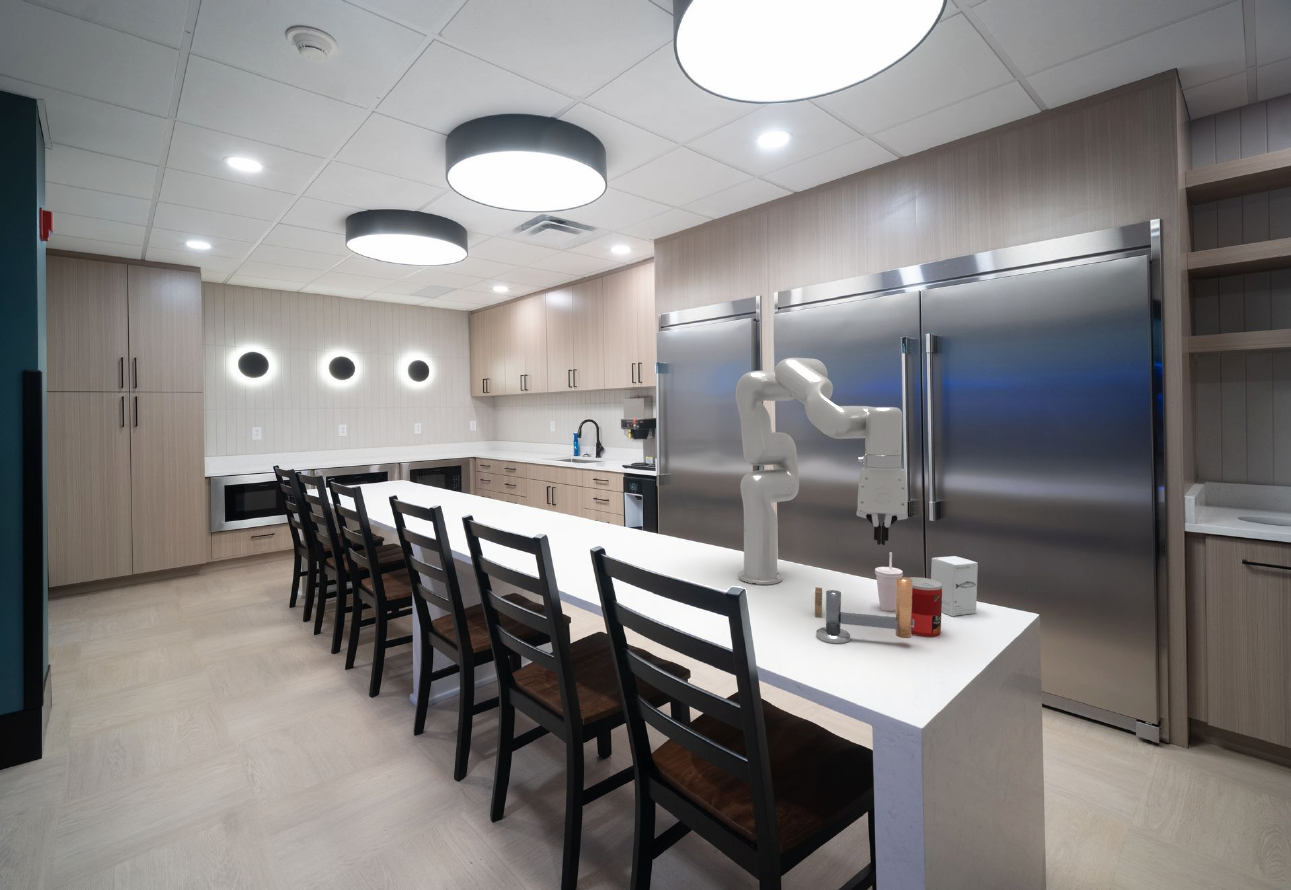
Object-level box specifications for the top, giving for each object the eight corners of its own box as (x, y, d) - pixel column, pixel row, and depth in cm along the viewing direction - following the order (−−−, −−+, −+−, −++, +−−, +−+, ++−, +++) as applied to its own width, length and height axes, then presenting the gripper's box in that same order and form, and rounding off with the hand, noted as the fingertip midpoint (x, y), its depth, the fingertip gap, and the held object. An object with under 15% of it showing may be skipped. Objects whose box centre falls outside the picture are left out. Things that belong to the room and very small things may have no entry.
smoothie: (907, 611, 145) (909, 554, 144) (887, 614, 142) (888, 557, 141) (888, 603, 151) (889, 548, 150) (868, 606, 148) (869, 551, 147)
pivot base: (816, 630, 133) (816, 625, 133) (849, 633, 131) (849, 629, 131) (815, 641, 126) (815, 637, 126) (850, 645, 124) (850, 641, 124)
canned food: (941, 639, 127) (942, 589, 126) (900, 633, 130) (901, 584, 130) (940, 627, 134) (942, 579, 133) (902, 622, 137) (903, 575, 136)
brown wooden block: (815, 611, 145) (815, 587, 144) (822, 612, 144) (822, 587, 144) (814, 616, 141) (815, 592, 141) (821, 617, 140) (822, 592, 140)
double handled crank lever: (910, 637, 125) (911, 577, 124) (912, 642, 122) (913, 581, 121) (825, 628, 130) (826, 571, 129) (825, 633, 127) (826, 575, 126)
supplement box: (952, 617, 140) (953, 564, 139) (929, 607, 147) (930, 557, 146) (977, 614, 142) (978, 562, 141) (953, 604, 149) (954, 554, 149)
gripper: (847, 463, 131) (845, 544, 133) (921, 465, 126) (918, 550, 127) (847, 460, 138) (846, 537, 140) (918, 461, 133) (915, 542, 134)
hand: (880, 543), depth 133 cm, fingers closed
